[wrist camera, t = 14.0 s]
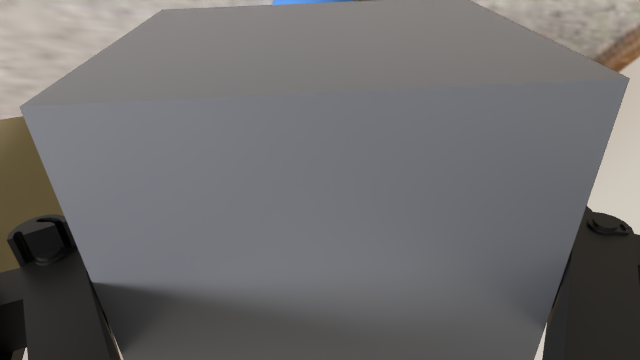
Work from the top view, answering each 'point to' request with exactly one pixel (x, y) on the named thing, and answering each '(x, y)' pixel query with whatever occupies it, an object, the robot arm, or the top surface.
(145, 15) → the top surface
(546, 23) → the top surface
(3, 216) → the squeeze bottle
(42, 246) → the robot arm
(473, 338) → the grey cubic block
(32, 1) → the top surface
